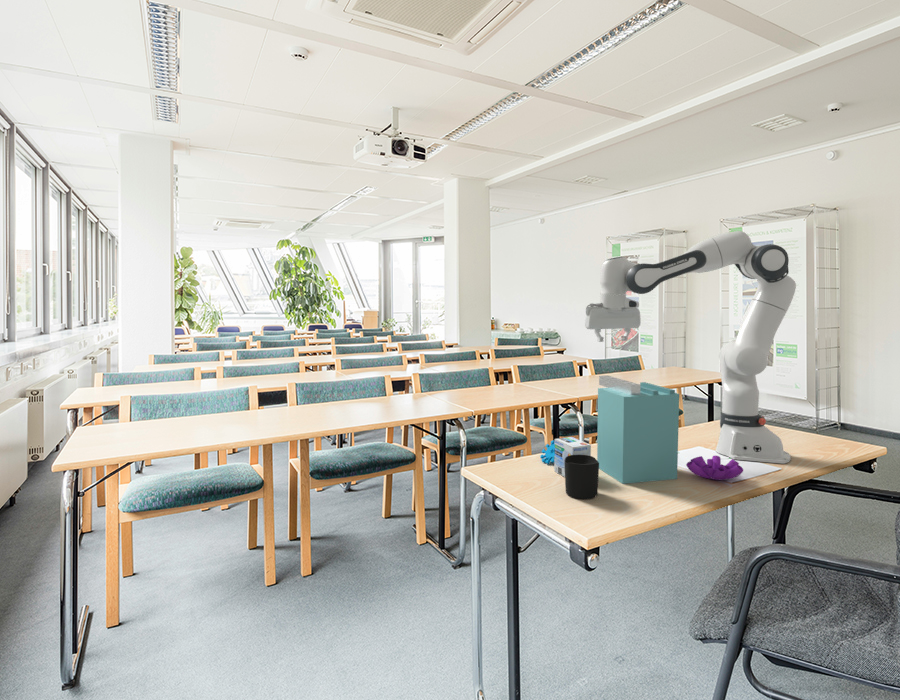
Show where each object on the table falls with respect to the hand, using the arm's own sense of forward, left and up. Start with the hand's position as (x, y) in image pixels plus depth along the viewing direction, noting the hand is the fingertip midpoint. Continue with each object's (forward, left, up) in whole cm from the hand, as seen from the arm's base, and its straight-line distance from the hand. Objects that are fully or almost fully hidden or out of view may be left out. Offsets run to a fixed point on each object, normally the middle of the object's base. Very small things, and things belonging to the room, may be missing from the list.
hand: (612, 341), depth 191 cm
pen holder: (-7, +51, -39) cm, 65 cm away
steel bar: (-9, +25, -13) cm, 30 cm away
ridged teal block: (-15, +25, -39) cm, 49 cm away
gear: (+11, +28, -39) cm, 49 cm away
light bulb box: (+1, +37, -39) cm, 54 cm away
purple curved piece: (-37, +18, -39) cm, 57 cm away
